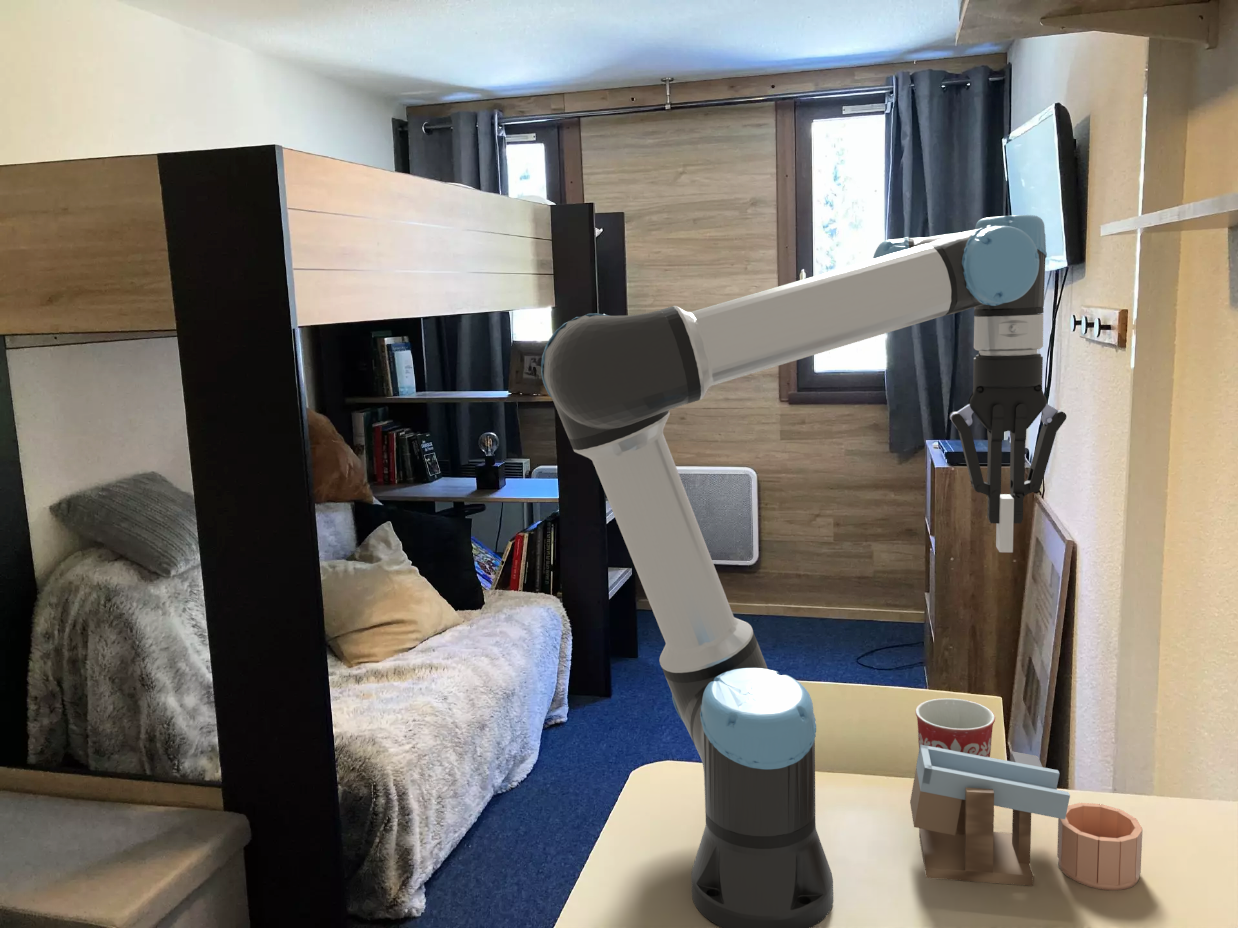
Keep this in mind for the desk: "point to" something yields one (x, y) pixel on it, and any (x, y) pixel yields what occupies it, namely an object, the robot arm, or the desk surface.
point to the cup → (1100, 846)
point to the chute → (980, 786)
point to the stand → (980, 845)
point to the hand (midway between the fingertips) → (1004, 549)
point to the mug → (955, 725)
